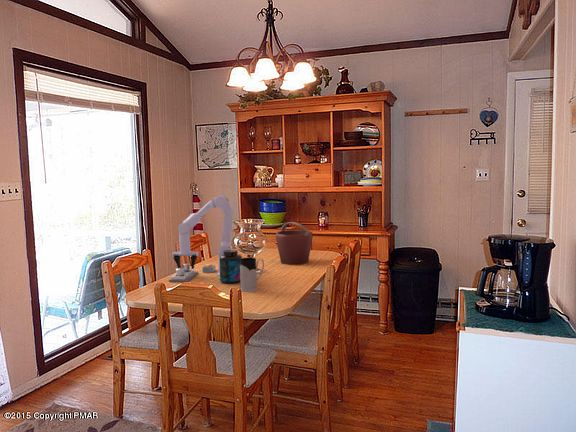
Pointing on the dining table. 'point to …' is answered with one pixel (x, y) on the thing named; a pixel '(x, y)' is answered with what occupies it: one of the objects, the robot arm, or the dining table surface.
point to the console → (208, 268)
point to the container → (230, 267)
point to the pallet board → (183, 277)
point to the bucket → (294, 245)
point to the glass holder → (249, 274)
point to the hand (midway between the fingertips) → (186, 268)
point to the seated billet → (180, 272)
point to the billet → (186, 267)
